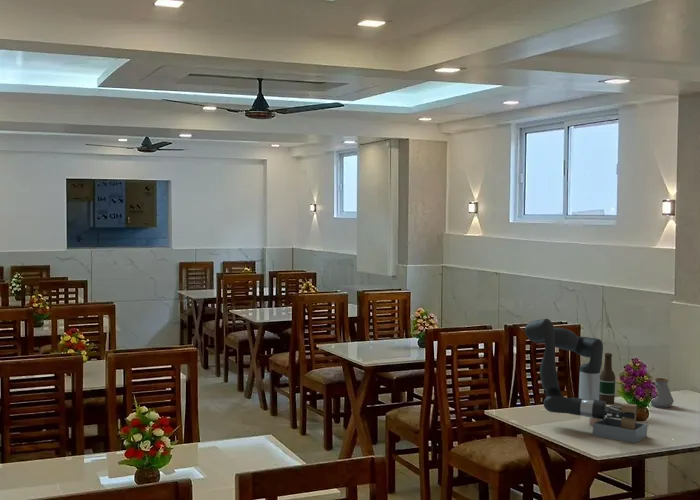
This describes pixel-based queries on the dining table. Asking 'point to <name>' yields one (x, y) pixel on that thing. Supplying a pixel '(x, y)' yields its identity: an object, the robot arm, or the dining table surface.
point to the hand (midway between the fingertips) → (635, 414)
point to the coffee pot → (662, 394)
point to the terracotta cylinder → (593, 421)
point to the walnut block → (629, 422)
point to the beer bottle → (607, 381)
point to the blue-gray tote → (619, 430)
